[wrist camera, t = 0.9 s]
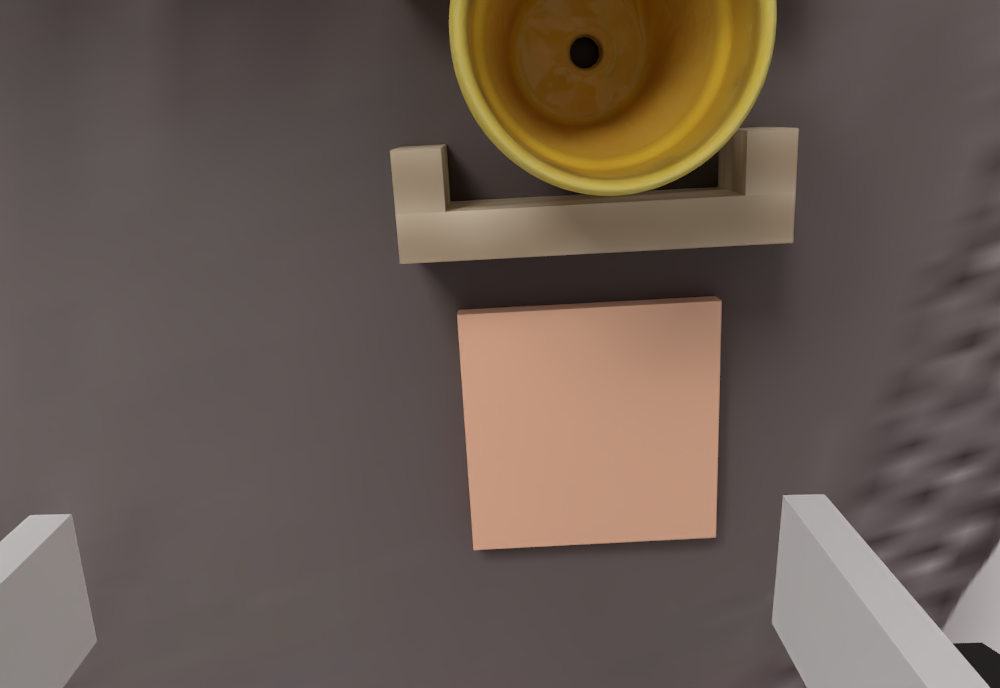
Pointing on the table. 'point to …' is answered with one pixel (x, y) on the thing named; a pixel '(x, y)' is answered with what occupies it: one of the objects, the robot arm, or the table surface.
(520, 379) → the tile
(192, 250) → the table surface
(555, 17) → the plant pot
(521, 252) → the flower pot holder
